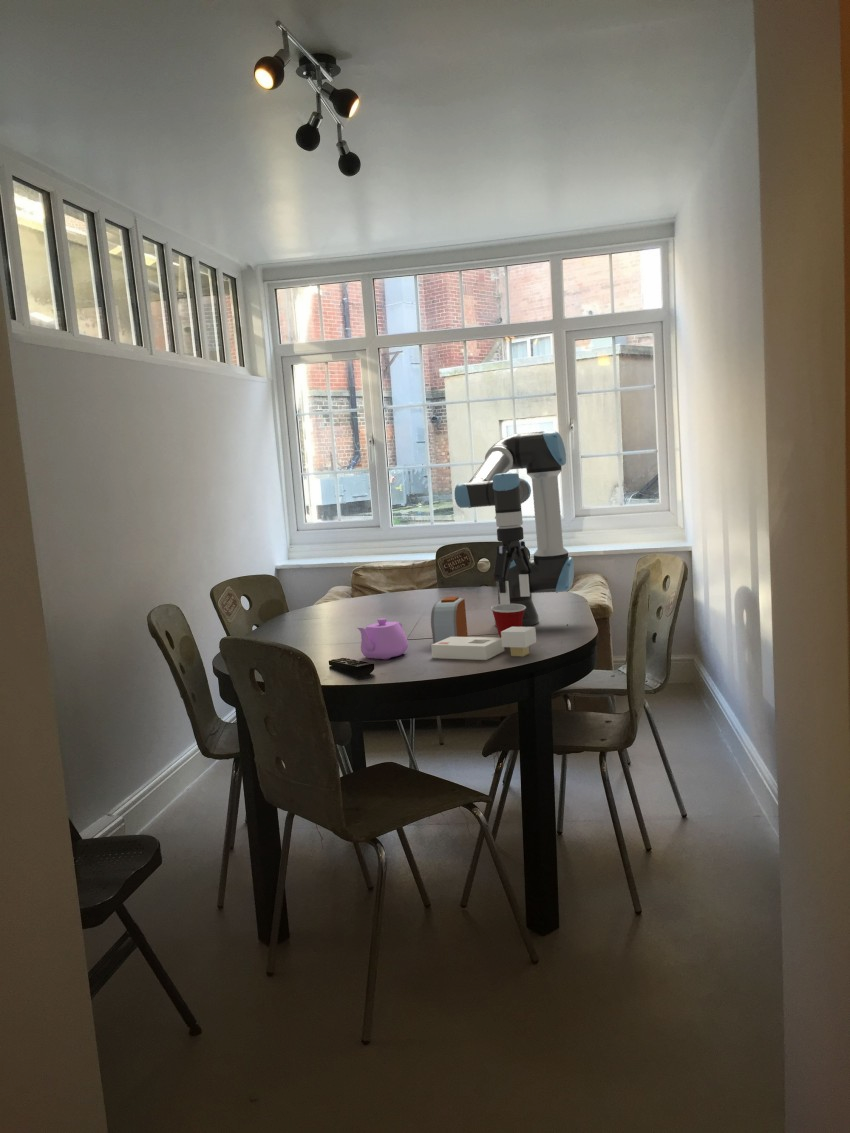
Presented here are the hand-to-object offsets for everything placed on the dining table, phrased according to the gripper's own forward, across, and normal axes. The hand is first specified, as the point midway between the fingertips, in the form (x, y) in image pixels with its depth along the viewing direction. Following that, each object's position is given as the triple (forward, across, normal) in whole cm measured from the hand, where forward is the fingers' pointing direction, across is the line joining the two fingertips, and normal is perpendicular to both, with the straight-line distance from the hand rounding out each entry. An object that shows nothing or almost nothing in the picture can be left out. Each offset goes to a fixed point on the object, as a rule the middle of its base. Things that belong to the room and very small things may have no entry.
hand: (515, 600), depth 258 cm
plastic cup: (+16, -13, -9) cm, 23 cm away
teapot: (+16, +9, -42) cm, 46 cm away
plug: (+16, 0, 0) cm, 16 cm away
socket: (+16, +2, -16) cm, 23 cm away
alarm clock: (+16, -16, -32) cm, 39 cm away
